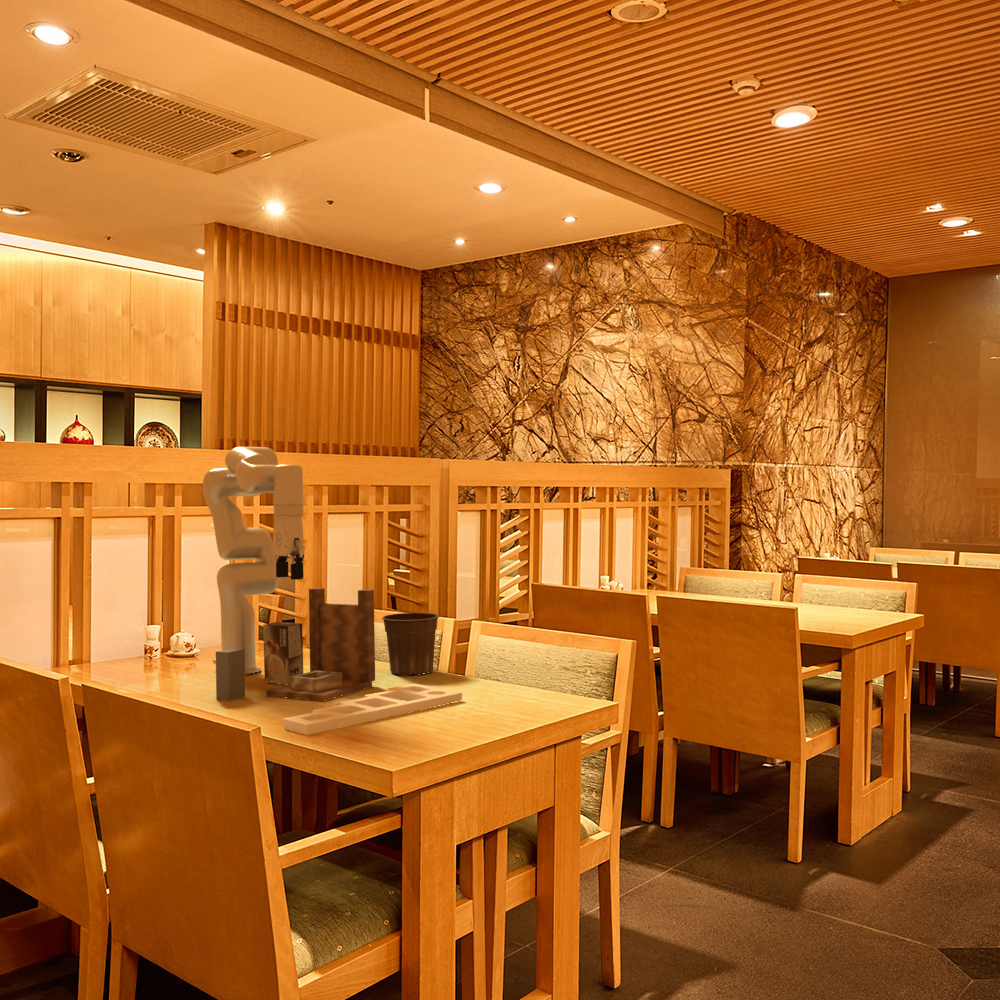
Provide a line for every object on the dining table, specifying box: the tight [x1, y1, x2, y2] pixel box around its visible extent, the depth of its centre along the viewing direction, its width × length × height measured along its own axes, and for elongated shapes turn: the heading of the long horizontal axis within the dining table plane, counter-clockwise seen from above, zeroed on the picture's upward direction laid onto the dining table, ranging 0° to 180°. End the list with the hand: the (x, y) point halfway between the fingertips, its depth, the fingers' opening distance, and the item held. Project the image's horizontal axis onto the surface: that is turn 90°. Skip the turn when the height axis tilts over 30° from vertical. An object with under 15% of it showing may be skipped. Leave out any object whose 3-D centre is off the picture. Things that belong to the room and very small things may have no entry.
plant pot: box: [381, 612, 440, 676], centre depth 278 cm, size 16×16×16 cm
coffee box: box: [262, 621, 304, 685], centre depth 266 cm, size 9×6×16 cm
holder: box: [283, 683, 463, 736], centre depth 227 cm, size 45×18×3 cm, turn 136°
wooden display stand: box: [265, 587, 376, 702], centre depth 253 cm, size 19×22×26 cm
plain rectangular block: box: [215, 648, 246, 702], centre depth 245 cm, size 4×6×12 cm, turn 154°
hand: (289, 578), depth 253 cm, fingers open, 9 cm apart
